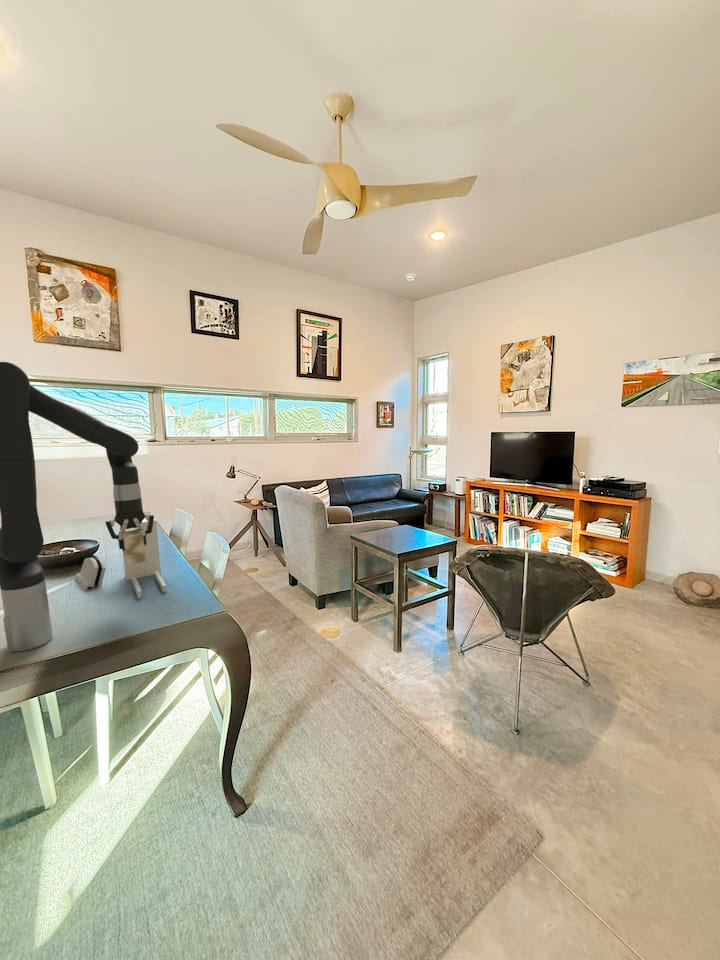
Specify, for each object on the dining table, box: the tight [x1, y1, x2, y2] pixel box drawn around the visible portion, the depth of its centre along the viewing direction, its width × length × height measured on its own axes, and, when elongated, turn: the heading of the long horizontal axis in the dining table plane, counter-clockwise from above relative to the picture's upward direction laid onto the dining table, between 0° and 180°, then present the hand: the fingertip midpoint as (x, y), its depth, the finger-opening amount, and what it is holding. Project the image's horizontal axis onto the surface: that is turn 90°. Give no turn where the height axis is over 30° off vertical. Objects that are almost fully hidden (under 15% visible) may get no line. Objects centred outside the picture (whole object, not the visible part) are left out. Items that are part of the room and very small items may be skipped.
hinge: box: [74, 557, 106, 591], centre depth 148 cm, size 17×5×10 cm, turn 47°
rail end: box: [122, 528, 146, 565], centre depth 126 cm, size 5×15×9 cm, turn 36°
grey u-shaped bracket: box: [119, 517, 168, 599], centre depth 145 cm, size 12×26×22 cm, turn 36°
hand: (133, 547), depth 126 cm, fingers closed on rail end, 5 cm apart
